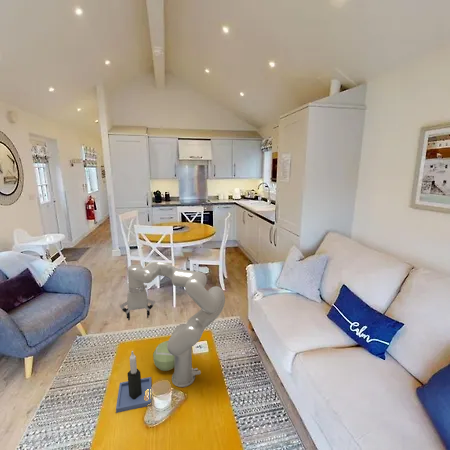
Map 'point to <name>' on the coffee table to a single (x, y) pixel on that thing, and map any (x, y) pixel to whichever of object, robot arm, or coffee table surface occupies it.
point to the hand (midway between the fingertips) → (138, 317)
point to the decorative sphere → (163, 357)
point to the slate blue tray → (127, 402)
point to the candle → (134, 378)
